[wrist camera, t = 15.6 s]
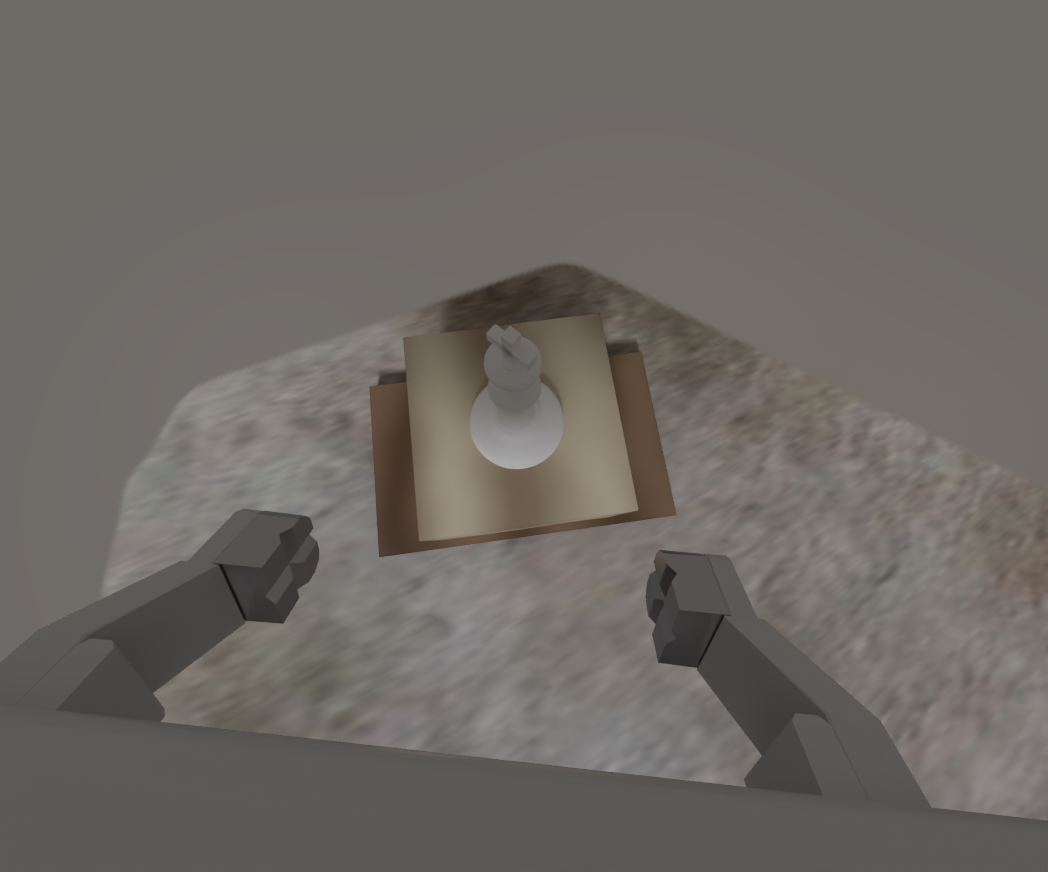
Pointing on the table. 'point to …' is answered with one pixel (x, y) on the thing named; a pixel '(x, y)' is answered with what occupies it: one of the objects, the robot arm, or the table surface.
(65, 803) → the robot arm
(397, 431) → the walnut base
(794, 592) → the table surface
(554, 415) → the chess piece
